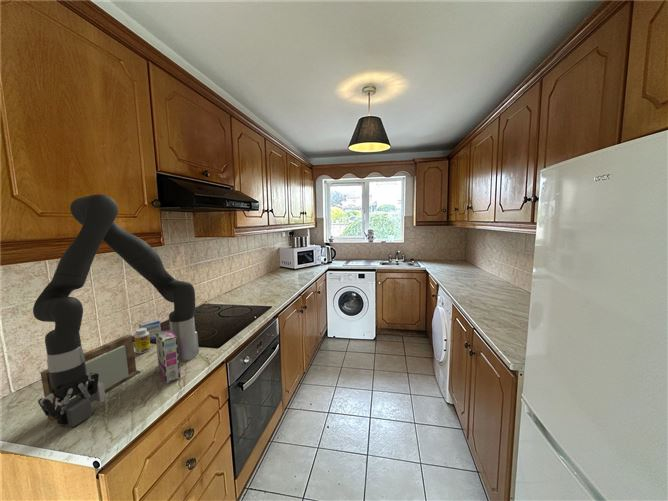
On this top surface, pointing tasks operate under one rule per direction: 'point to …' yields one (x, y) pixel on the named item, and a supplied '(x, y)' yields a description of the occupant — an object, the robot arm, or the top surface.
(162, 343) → the candy bar box
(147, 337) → the supplement bottle
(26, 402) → the top surface
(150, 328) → the medicine box
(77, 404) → the block
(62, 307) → the robot arm
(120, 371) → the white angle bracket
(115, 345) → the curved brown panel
